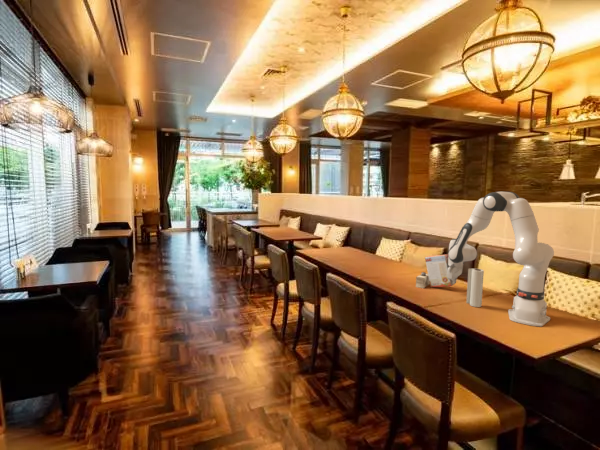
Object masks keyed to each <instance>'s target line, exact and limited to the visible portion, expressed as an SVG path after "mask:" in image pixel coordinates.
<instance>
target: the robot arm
mask: <svg viewBox="0 0 600 450" xmlns="http://www.w3.org/2000/svg"><path fill="white" fill-rule="evenodd" d="M471 211H472V212H471V215H469V218H468V220H467V221H466V223H464V224H463V226H462V227H461V229H460V231H459V233H458V235H457V237H456V238H453V239H451V240H450V242H449V244H448V253H447V254H448V265H449V266H450V267H449V268H448V271H447V279H450V280H452V284H454V285H455V284H456V283H457V279H458V277H459V276H460V275H462V274H463V269H464V264H465V262H471V261H474V260H476V259H477V257H478V250H477V248H476V247H475V246H473V245H470V244H468V241H469V239H470V238H471V237H472V236H473V235H475V234H477V233H480V232H482V231H484V230H486V229H488V227H489V225H490V223H491V220H492V219H493V217H494V213H495V212H505V213H507V214H508V217H509V221H510V223H511V226H512V230H513V235H514V250H513V252H512V258H513V260H514V261H515V262H516V263H517V264H518V265H522V266H523V268H522V269H521V271H520V273H519V274H518V277H519V278H518V285H517V286H518V287H517V289H516V295H515V296H513V301H512V303H513V304H512V305H511V308H510V309H507V312H508V318H509V320H510V321H512V322H515V323H519V324H521V325H527V326H533V327H543V326H544V325H546V324H547V323H548V322H549V321H550V320H551V317H550V316H548V315H547V308H548V304H547V302H546V301H545V300H544V299H545V291H544V289H545V288H544V287H545V277H546V274H547V272H548V268H549V264H550V262H551V260H552V259H553V257H554V256H555V251H554V248H553V247H552V246H551V245H550V244H548V243H545V242H539V241H538V233H539V230H540V229H539V227H538V226H539V225H538V222H537V220H536V219H537V218H536V216H535V213H534V211H533V208H532V207H531V205H530V203H529V201H528V200H527V199H525V198H523V197H520V196H519V194H517V193H516V192H513V191H495V192H493V191H492V192H489V193H488V194H486V195H485V196H484V197H481V198H479V199H478V200H477V202H476V203H475V205H474V207H473V209H472V210H471Z"/></svg>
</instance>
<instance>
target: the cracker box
mask: <svg viewBox="0 0 600 450" xmlns="http://www.w3.org/2000/svg"><path fill="white" fill-rule="evenodd" d="M424 258H425V260H424V261H425V265H426V270H427V274H428V276H429V281H430V284H429V286H430V288H442V287H447V288H448V287H449V288H450V287H452V286H454V285H455V284H452V280H450V279H447V271H448V268H449V267H450V266H449V265H448V253H447V254H445V253H444V254H438V255H436V254H435V255H429V256H425V257H424Z"/></svg>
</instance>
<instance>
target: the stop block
mask: <svg viewBox="0 0 600 450" xmlns="http://www.w3.org/2000/svg"><path fill="white" fill-rule="evenodd" d="M428 286H430V281H429V276H428V272H427V273H426V272H424V271H423V272H421V274H419V275H417V276H416V278H415V288H420V289H425V288H426V287H428Z"/></svg>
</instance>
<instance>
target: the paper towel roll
mask: <svg viewBox="0 0 600 450" xmlns="http://www.w3.org/2000/svg"><path fill="white" fill-rule="evenodd" d="M484 273H485V270H484V269H481V268H468V269H467V284H466V285H467V286H466V299H465V300H466V302H465V303H466V304H469V306H471V307H474V308H480V307H482V303H483V291H484V290H483V288H484V287H483V286H484Z"/></svg>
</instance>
